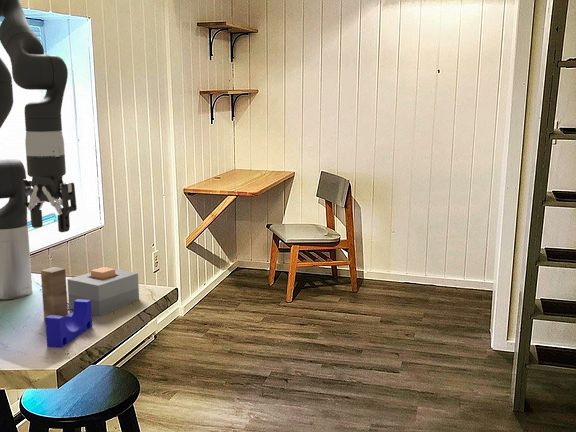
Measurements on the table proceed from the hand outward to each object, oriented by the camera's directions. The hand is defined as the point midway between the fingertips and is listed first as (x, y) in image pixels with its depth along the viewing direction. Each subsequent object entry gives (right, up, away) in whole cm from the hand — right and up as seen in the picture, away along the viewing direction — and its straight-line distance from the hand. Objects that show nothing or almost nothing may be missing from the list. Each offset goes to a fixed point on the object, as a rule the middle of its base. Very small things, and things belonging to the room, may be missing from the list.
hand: (50, 229), depth 136 cm
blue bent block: (+6, -22, -7) cm, 23 cm away
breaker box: (+8, -18, +12) cm, 23 cm away
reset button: (+8, -13, +11) cm, 19 cm away
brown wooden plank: (0, -19, +3) cm, 20 cm away
